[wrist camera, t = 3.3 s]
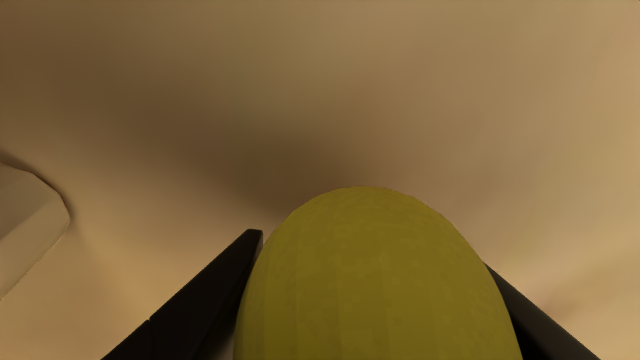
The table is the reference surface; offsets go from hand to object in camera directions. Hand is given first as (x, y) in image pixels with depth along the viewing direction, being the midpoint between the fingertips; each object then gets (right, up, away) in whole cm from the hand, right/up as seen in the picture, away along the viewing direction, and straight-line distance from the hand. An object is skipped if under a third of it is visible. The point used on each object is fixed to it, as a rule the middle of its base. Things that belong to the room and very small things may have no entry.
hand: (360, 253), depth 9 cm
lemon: (0, +1, +2) cm, 2 cm away
